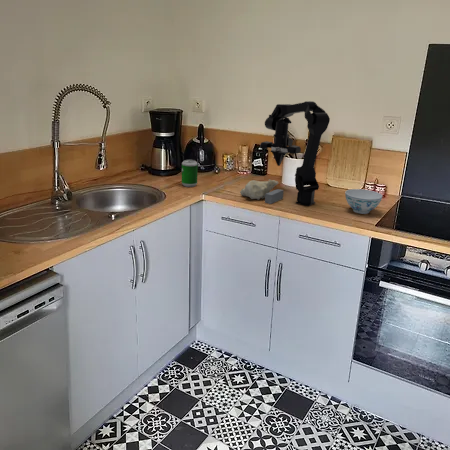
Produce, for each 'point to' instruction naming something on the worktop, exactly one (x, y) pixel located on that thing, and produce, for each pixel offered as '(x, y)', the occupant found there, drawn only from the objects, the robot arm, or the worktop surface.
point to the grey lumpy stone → (258, 188)
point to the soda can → (189, 173)
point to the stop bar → (274, 196)
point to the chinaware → (362, 200)
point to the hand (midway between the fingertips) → (278, 165)
